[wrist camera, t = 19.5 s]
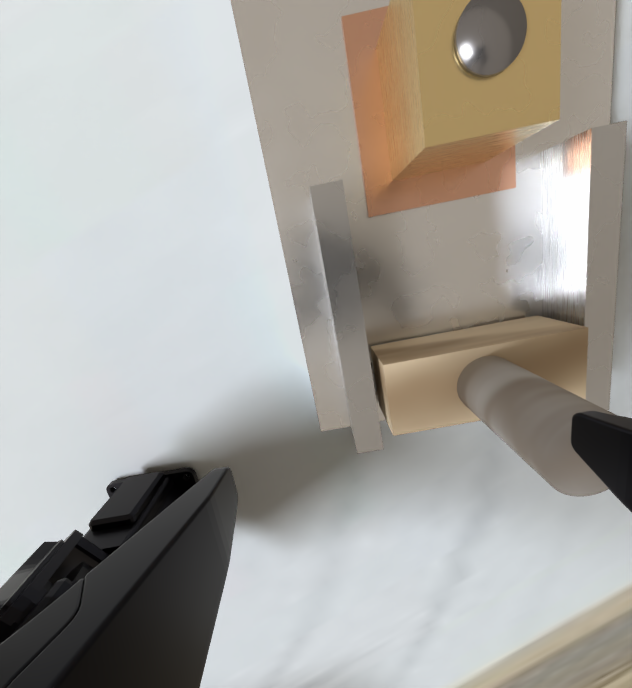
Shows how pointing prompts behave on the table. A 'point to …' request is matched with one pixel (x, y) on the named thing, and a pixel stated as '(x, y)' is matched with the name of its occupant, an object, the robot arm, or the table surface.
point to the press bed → (428, 203)
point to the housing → (466, 79)
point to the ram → (496, 390)
